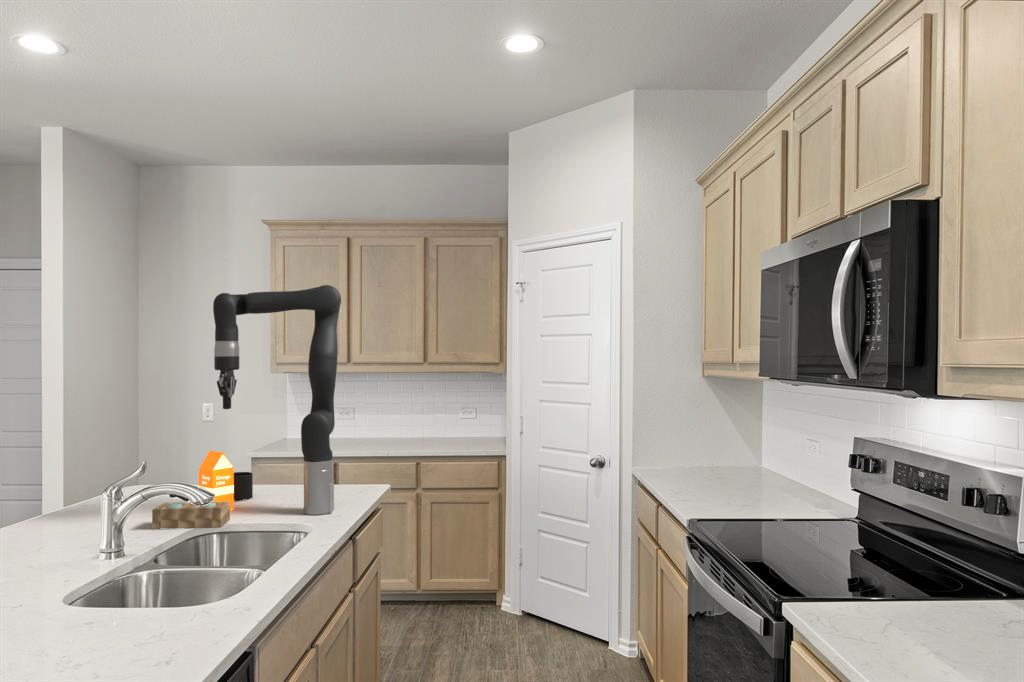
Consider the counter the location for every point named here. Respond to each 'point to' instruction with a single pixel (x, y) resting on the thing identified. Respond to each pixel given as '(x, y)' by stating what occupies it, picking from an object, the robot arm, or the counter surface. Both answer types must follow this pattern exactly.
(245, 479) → the black cylinder
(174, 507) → the peg
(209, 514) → the oak block
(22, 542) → the counter surface
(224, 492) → the orange juice
